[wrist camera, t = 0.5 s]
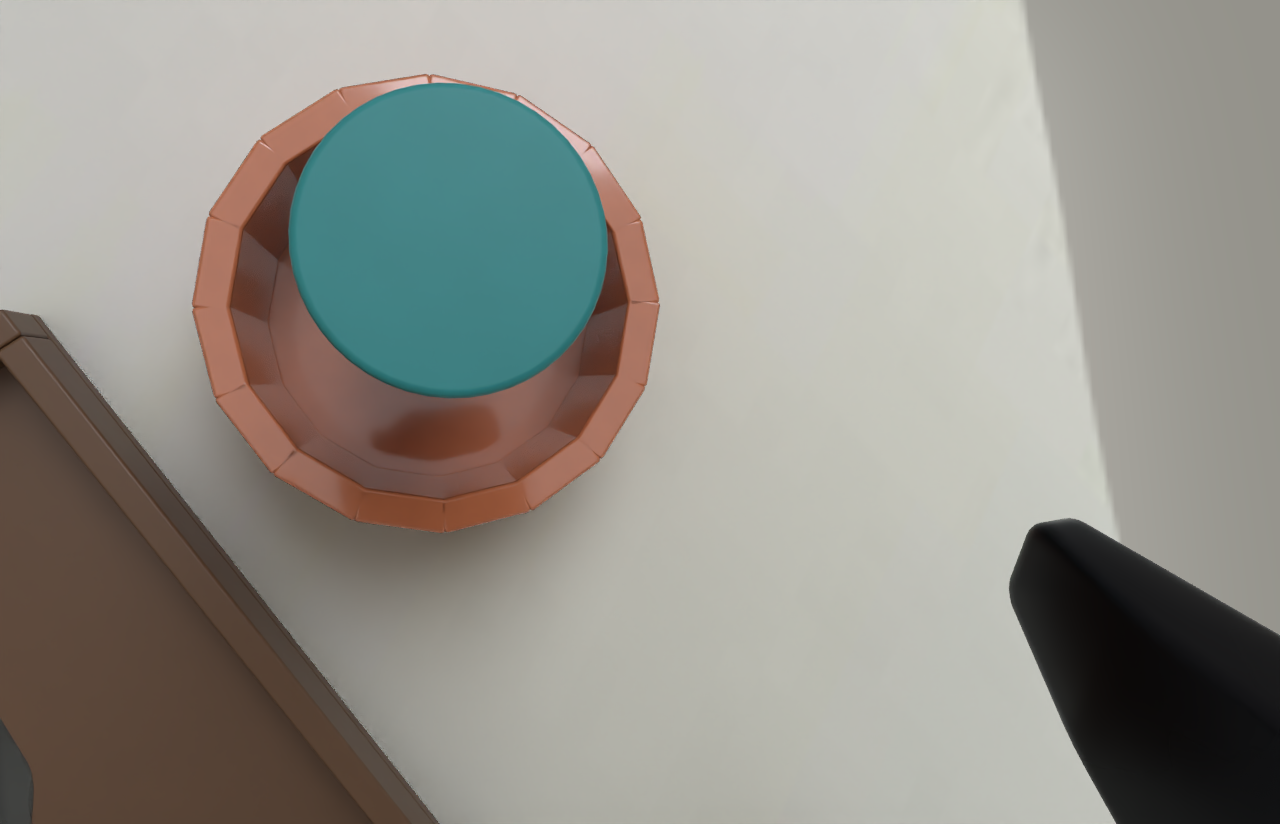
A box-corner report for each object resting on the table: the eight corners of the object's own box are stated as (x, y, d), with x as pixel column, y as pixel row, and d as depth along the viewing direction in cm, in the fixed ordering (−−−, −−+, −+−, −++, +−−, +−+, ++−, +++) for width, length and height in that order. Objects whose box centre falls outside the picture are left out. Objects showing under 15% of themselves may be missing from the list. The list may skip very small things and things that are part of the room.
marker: (530, 338, 22) (668, 282, 10) (416, 418, 22) (416, 461, 10) (449, 223, 22) (491, 20, 10) (331, 302, 21) (216, 193, 9)
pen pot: (671, 365, 24) (738, 360, 19) (391, 569, 22) (384, 620, 17) (474, 76, 22) (489, -10, 18) (166, 274, 21) (92, 241, 16)
